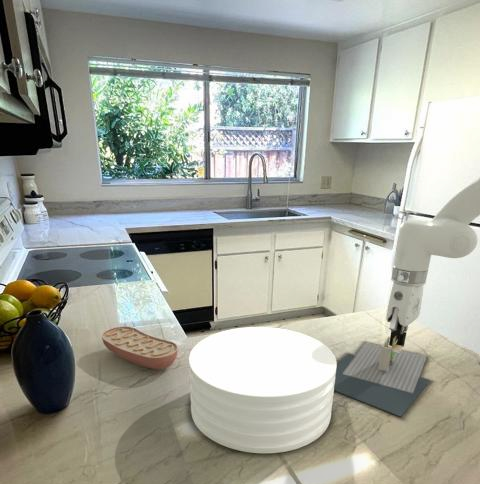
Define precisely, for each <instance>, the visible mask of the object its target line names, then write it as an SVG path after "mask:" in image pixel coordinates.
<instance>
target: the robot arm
mask: <svg viewBox="0 0 480 484" xmlns="http://www.w3.org/2000/svg"><path fill="white" fill-rule="evenodd" d="M479 216H480V177H478V178H476V179H475V180H474V181H473V182H471V183H470V184H468V185H467V186H466V187H464V188H462V190H461V191H459V192H458V193H457V194H455V195H454V196H453V197H452V198H451V199H450V200H449V201H448V202H447V203H446V204H445V205H443V207H442V208H441V209H440V210H439V211H438V213H436V215H434V217H432V219H431V220H430V221H428V220H421V219H408V220H404V221H402V222H401V224H400V226H399V230H398V236H397V242H396V247H395V254H394V260H393V267H392V272H391V278H390V280H391V282H393V283H392V287H391V291H390V294H389V295H390V296H389V300H388V303H387V309H386V310H387V311H386V318H385V320H386V322H387V323H389V324H390V325H389V328H388V329H389V330H390V336H389V337H390V338H389V344H388V346H389V347H392V343H393V338H395V336H396V340H395V342H396V341H397V343H396V345H400V346H402V348H404V347H405V343H406V337H407V334H408V333H407V332H408V329H409V326H410V325H411V324H412V323H413V322H414V321H417V319H418V318H419V317H420V314H421V308H422V302H423V296H424V295H423V294H424V285H426V284H427V278H428V273H429V268H430V262H431V258H432V256H437V257H441V258H447V259H460V258H464V257H467V256H469V255H470V254H471V253H472V252H474V250H475V249H476V247H477V244H478V235H477V232H476V231H475V229H474V228H472V227H471V226H469V225H470V224H471V223H472V222H473V221H474V220H475V219H477V218H479ZM397 339H398V340H397Z"/></svg>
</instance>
